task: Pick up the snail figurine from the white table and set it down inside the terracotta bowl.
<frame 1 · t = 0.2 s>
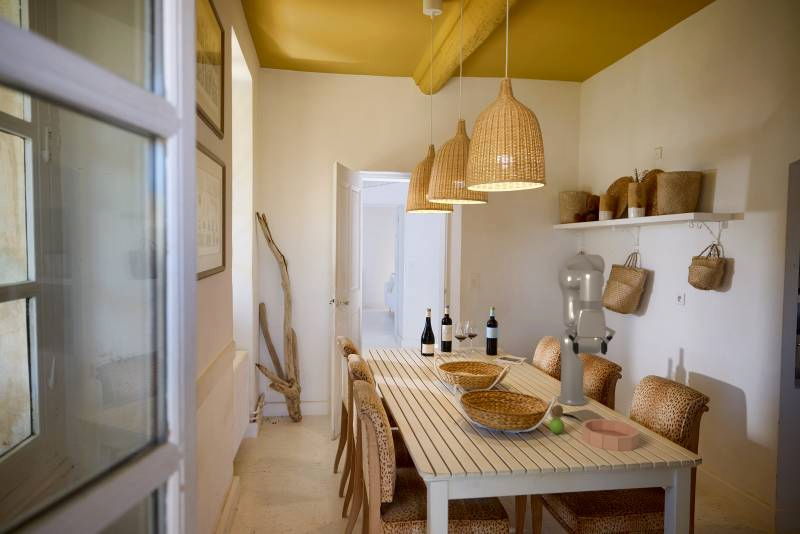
hand: (589, 353, 178), 31 cm above the table, tool pointing down, fingers open, 9 cm apart
snail figurine: (555, 433, 184), on the table
clay tablet: (581, 420, 201), on the table
terracotta bowl: (609, 440, 177), on the table
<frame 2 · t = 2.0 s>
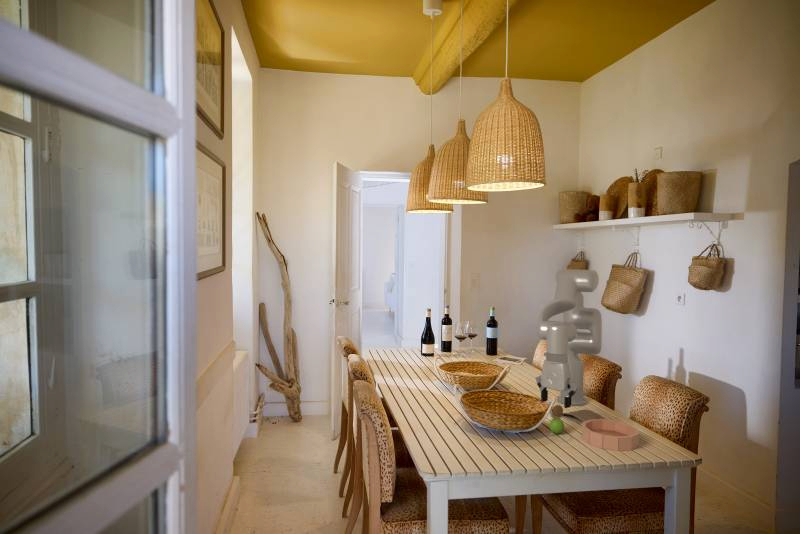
hand: (555, 404, 183), 11 cm above the table, tool pointing down, fingers open, 9 cm apart
nothing on the table moved.
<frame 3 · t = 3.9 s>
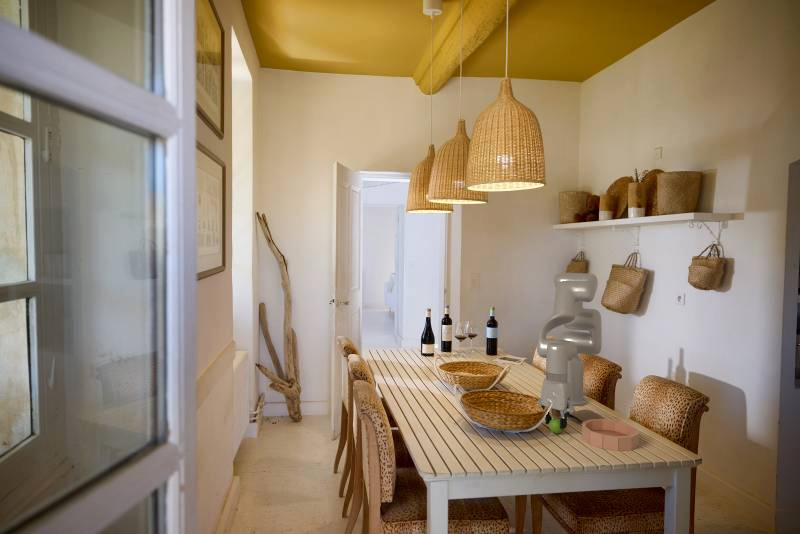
hand: (555, 425, 184), 3 cm above the table, tool pointing down, fingers closed on snail figurine, 5 cm apart
snail figurine: (555, 433, 184), on the table, touching gripper
everything else where it was.
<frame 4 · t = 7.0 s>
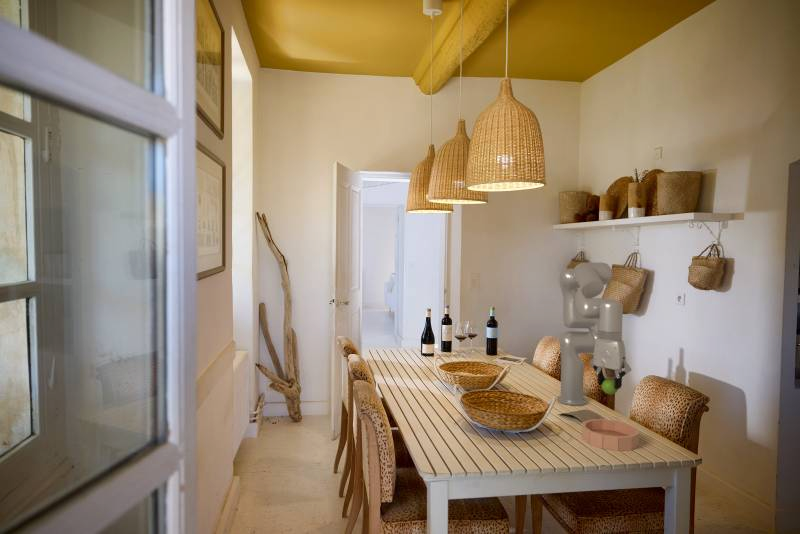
hand: (609, 386, 177), 19 cm above the table, tool pointing down, fingers closed on snail figurine, 5 cm apart
snail figurine: (608, 394, 177), point 16 cm above the table, touching gripper
everything else where it was.
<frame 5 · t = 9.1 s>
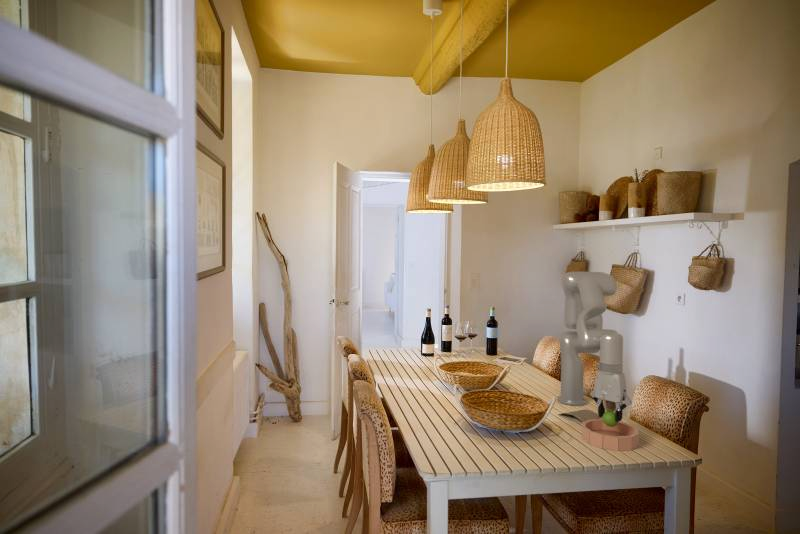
hand: (609, 418, 177), 8 cm above the table, tool pointing down, fingers closed on snail figurine, 5 cm apart
snail figurine: (609, 426, 177), point 5 cm above the table, touching gripper
everything else where it was.
when the fingers open (5 cm above the table, at t = 10.5 s): snail figurine drops 1 cm, resting on terracotta bowl.
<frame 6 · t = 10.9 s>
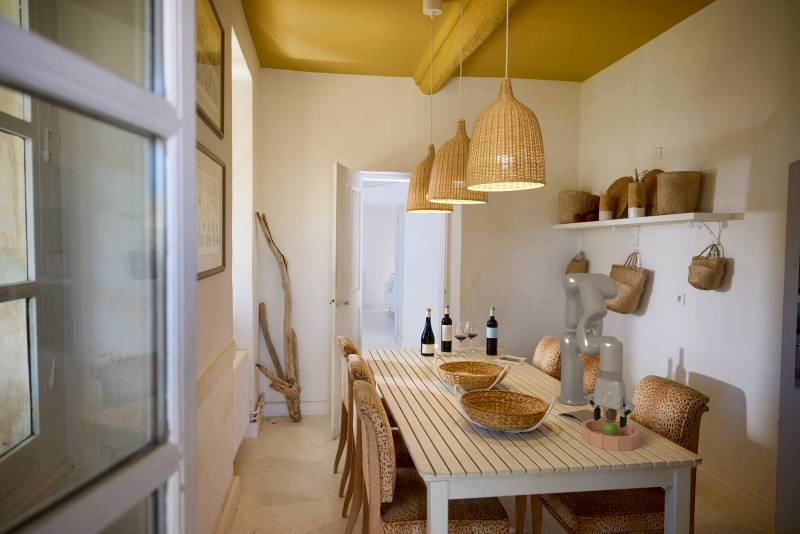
hand: (609, 423, 177), 6 cm above the table, tool pointing down, fingers open, 9 cm apart
snail figurine: (608, 437, 178), point 1 cm above the table, touching terracotta bowl
everything else where it was.
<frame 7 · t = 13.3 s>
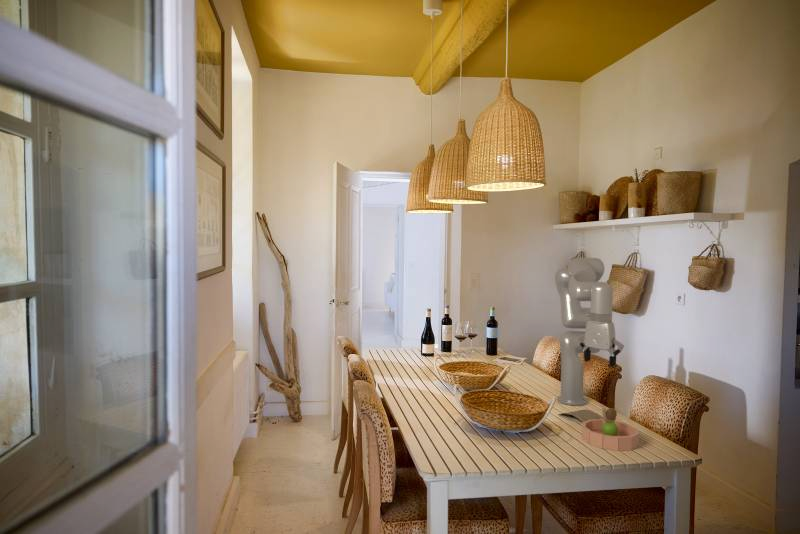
hand: (599, 363, 185), 26 cm above the table, tool pointing down, fingers open, 9 cm apart
nothing on the table moved.
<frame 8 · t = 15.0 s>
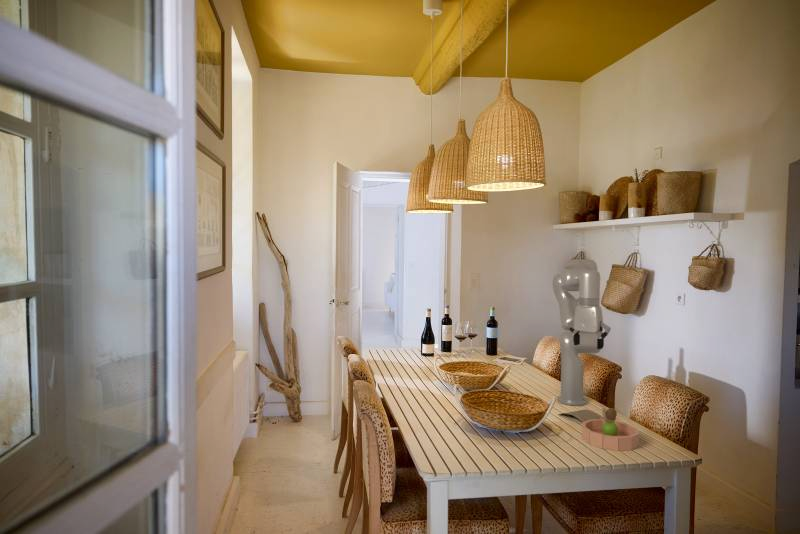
hand: (588, 346, 193), 30 cm above the table, tool pointing down, fingers open, 9 cm apart
nothing on the table moved.
at the end: snail figurine inside the target area on the terracotta bowl (0.3 cm from its centre), point 0.8 cm above the terracotta bowl's base; the gripper is holding nothing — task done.
